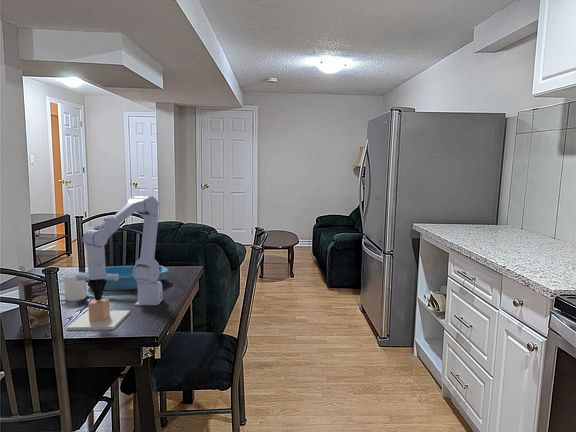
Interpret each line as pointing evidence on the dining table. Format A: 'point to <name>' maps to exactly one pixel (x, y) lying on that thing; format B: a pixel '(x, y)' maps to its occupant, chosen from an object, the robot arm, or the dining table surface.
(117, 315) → the white board
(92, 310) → the tan rectangular block
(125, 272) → the casserole dish
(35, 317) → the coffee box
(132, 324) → the dining table surface
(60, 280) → the mug
